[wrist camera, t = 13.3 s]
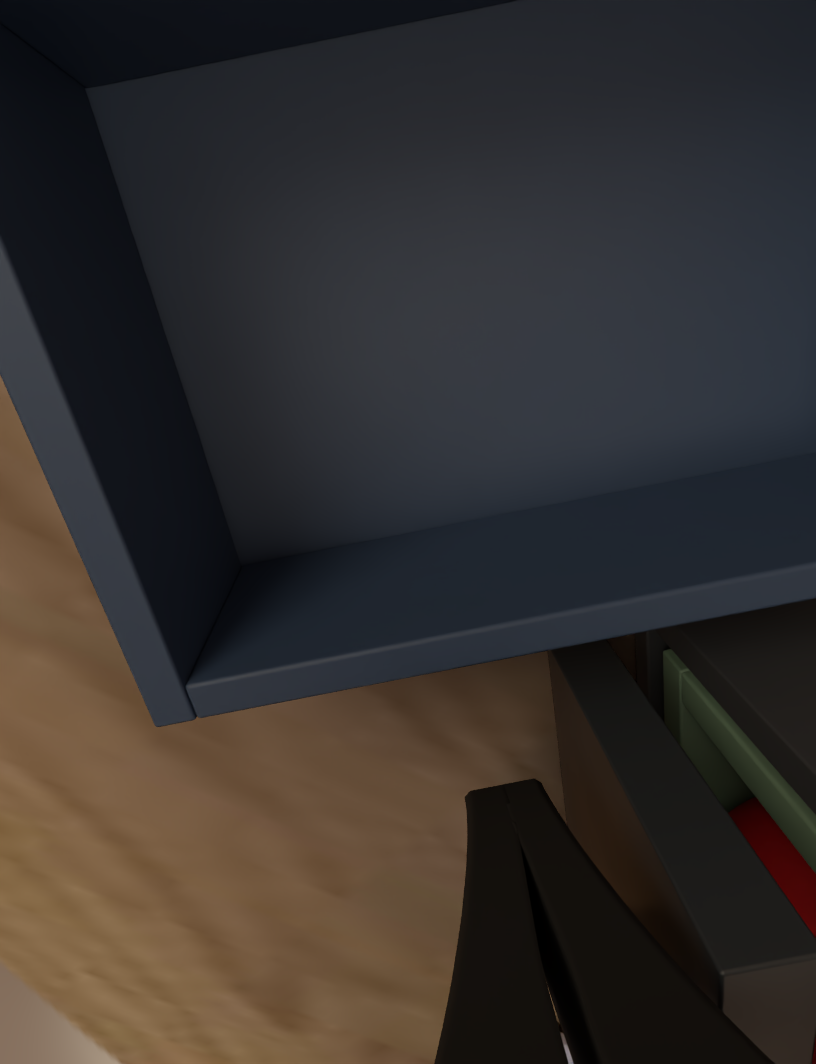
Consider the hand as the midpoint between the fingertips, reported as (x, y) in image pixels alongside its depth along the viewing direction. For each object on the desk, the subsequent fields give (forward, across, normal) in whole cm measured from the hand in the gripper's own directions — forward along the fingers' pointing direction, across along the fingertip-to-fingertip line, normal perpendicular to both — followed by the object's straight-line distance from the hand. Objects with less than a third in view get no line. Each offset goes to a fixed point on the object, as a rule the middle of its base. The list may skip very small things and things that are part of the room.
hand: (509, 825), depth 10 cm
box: (+4, -2, -9) cm, 10 cm away
